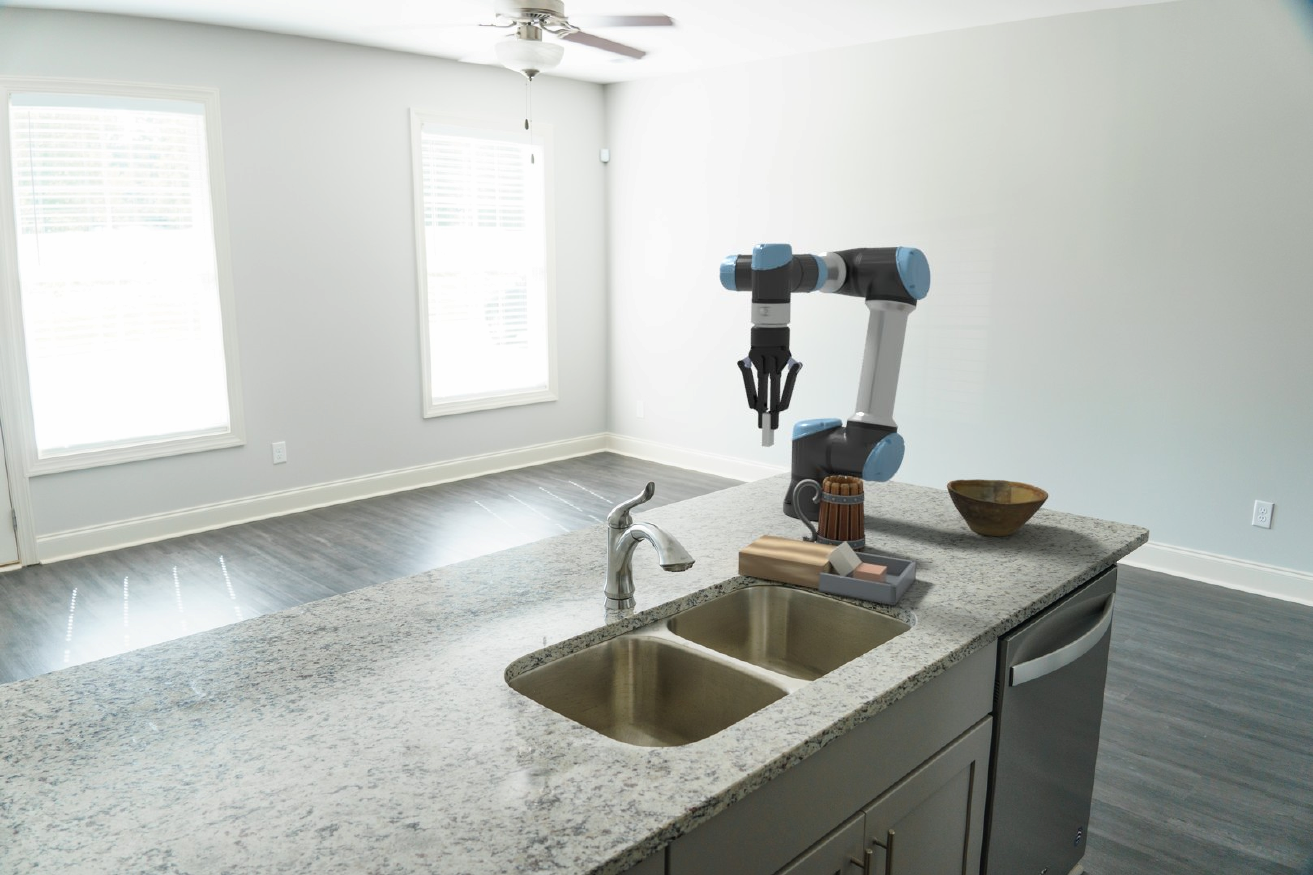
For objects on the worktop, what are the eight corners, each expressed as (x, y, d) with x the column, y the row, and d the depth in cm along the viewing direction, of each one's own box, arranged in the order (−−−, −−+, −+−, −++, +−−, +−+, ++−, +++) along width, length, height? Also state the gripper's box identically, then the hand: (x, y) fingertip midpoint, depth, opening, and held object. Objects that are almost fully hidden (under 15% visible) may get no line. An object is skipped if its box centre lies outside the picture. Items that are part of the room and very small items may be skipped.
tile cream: (834, 548, 173) (845, 540, 171) (850, 569, 172) (861, 561, 170) (825, 556, 168) (837, 547, 167) (842, 577, 167) (854, 569, 166)
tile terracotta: (886, 566, 168) (886, 581, 169) (861, 562, 170) (860, 577, 171) (879, 574, 164) (878, 589, 164) (853, 569, 166) (852, 585, 167)
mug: (861, 541, 195) (865, 475, 192) (868, 556, 185) (872, 486, 182) (790, 538, 196) (792, 473, 194) (792, 554, 186) (795, 484, 183)
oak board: (763, 555, 185) (764, 534, 184) (842, 568, 177) (843, 547, 176) (738, 573, 174) (738, 551, 173) (821, 589, 166) (822, 566, 165)
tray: (845, 566, 178) (845, 550, 177) (915, 578, 171) (916, 561, 171) (818, 591, 164) (819, 573, 164) (894, 605, 158) (895, 586, 157)
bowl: (1053, 526, 207) (1056, 484, 205) (1035, 552, 188) (1039, 506, 186) (957, 512, 218) (960, 472, 217) (931, 535, 200) (934, 492, 198)
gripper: (731, 325, 170) (729, 445, 175) (796, 327, 164) (792, 452, 169) (746, 323, 177) (744, 438, 181) (809, 325, 171) (805, 444, 175)
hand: (767, 445), depth 175 cm, fingers closed
